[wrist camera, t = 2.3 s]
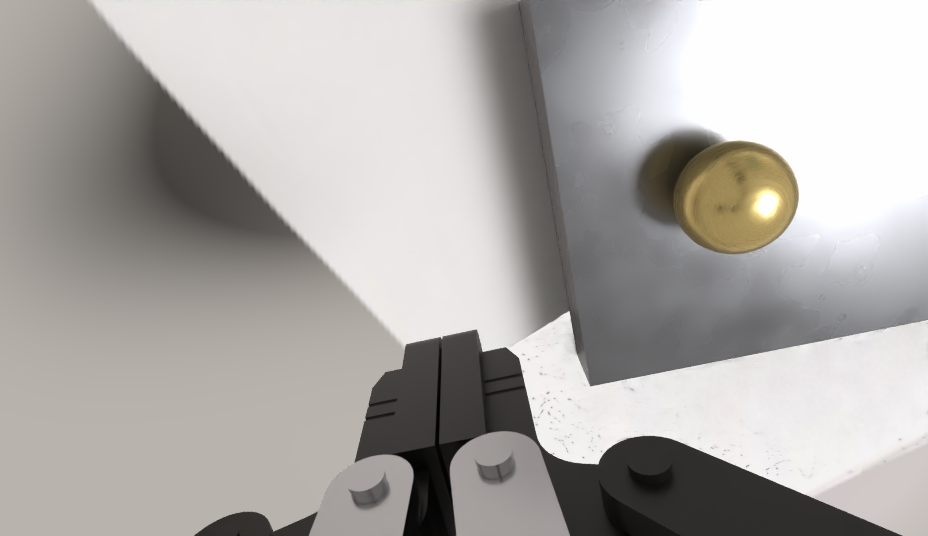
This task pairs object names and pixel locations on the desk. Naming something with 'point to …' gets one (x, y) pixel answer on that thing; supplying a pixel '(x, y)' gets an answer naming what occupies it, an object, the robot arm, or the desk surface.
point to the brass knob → (736, 197)
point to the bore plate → (718, 120)
